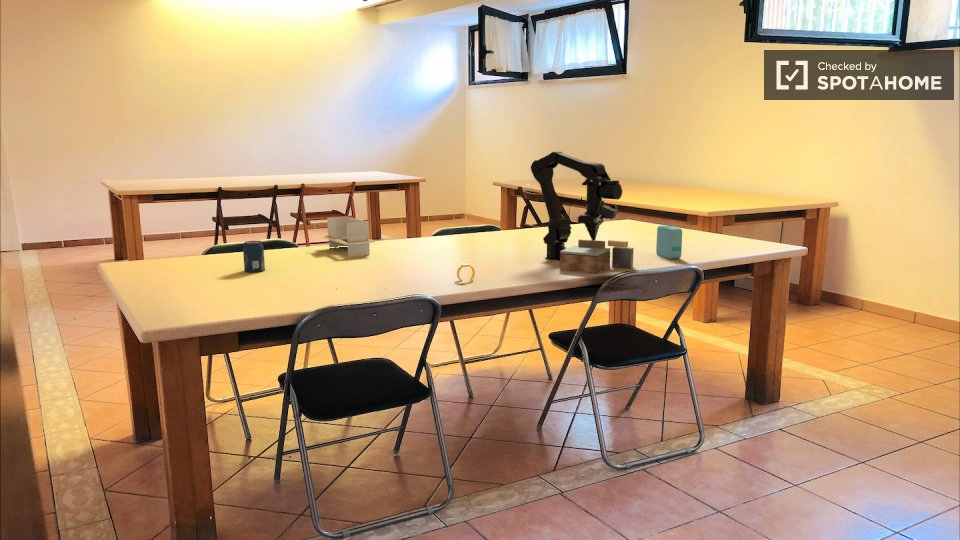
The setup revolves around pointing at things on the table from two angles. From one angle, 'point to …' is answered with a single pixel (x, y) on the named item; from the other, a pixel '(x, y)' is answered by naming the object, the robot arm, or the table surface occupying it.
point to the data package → (669, 242)
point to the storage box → (585, 263)
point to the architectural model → (349, 235)
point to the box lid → (587, 248)
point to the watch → (465, 266)
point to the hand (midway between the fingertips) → (593, 240)
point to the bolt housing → (622, 257)
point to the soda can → (253, 257)
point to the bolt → (617, 243)
